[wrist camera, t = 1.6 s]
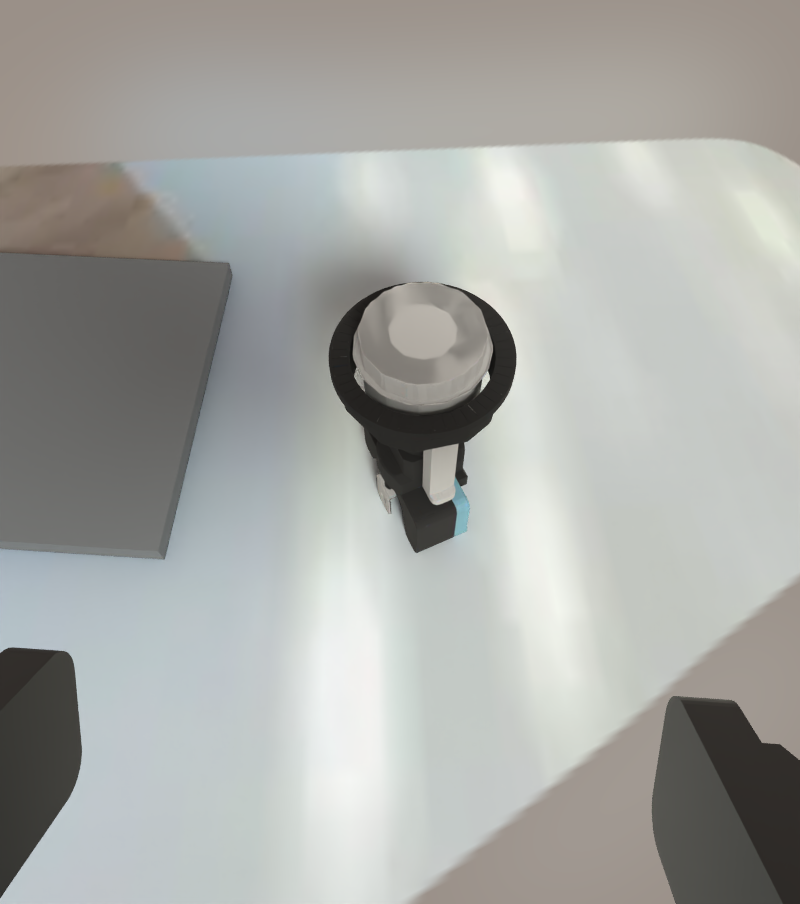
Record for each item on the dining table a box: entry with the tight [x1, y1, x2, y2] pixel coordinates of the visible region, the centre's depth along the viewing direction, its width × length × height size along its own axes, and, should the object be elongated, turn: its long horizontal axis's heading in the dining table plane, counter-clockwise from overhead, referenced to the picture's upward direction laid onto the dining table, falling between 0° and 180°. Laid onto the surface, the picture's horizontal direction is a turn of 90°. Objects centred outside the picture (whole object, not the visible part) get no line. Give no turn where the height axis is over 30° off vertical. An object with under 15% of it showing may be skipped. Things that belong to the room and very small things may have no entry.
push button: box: [329, 282, 516, 553], centre depth 25 cm, size 7×5×10 cm
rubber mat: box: [0, 253, 232, 559], centre depth 31 cm, size 16×14×1 cm
